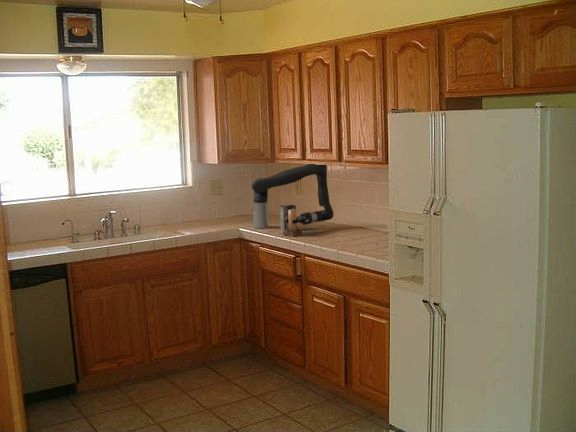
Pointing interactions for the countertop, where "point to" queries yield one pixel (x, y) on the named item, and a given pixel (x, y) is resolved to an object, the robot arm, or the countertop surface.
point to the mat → (311, 232)
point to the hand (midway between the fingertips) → (289, 221)
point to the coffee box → (285, 216)
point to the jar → (292, 217)
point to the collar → (292, 233)
